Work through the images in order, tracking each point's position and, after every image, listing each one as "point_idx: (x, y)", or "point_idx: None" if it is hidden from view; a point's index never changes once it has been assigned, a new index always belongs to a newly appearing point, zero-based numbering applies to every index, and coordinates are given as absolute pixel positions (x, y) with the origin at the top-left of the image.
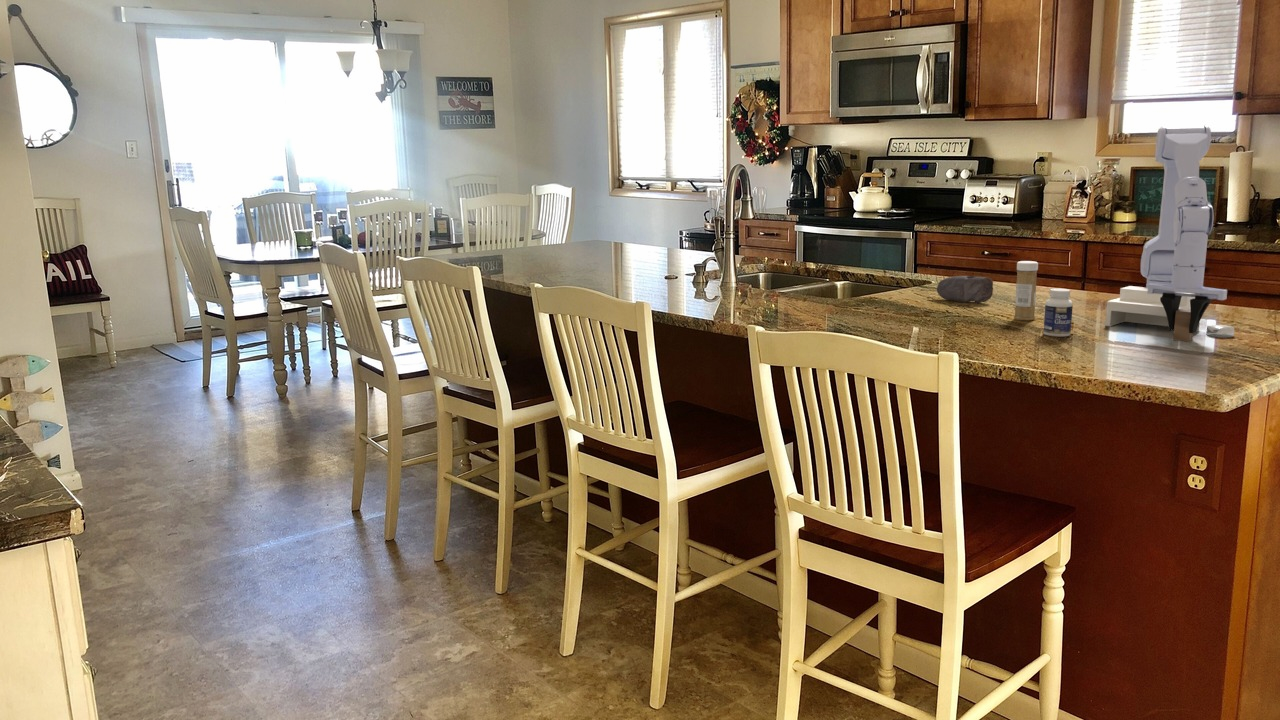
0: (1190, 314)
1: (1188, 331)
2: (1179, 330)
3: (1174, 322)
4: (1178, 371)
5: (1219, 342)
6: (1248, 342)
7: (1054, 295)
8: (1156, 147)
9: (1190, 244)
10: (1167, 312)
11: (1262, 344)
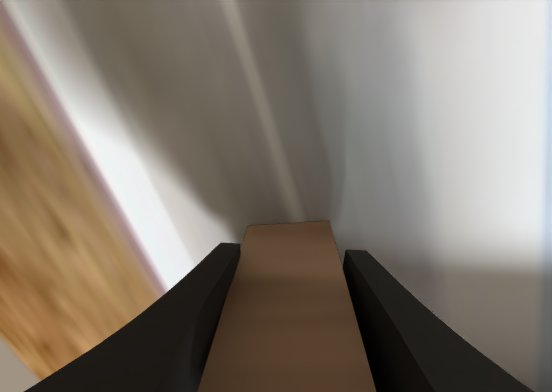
0: (216, 379)
1: (247, 256)
2: (303, 256)
3: (356, 311)
4: None
5: (135, 275)
6: (65, 331)
7: None
8: None
9: None
10: (470, 357)
11: (9, 322)
